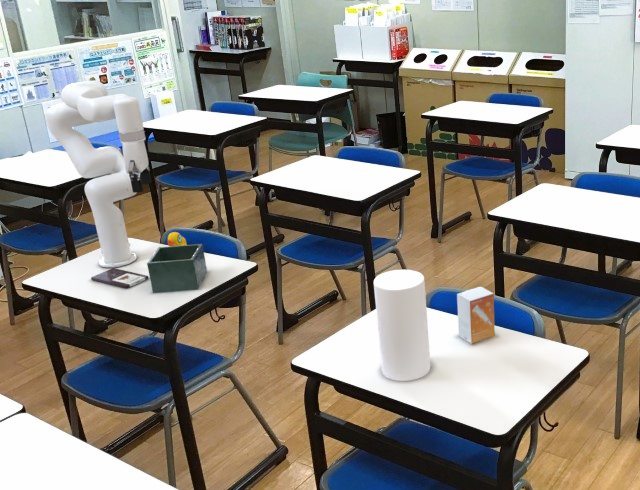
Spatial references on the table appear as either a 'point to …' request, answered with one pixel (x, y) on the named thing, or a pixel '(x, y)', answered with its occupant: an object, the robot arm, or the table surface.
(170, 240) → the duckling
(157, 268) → the bin
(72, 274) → the table surface
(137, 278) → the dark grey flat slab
